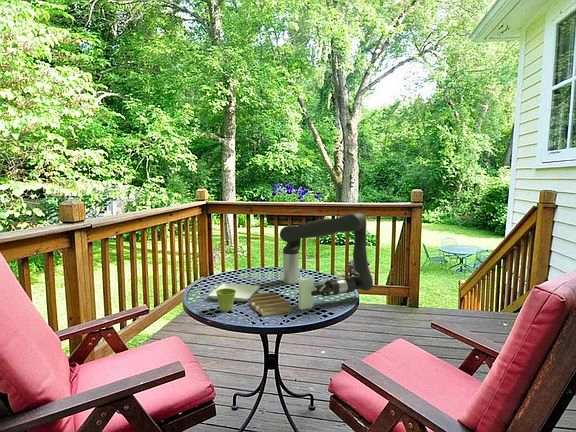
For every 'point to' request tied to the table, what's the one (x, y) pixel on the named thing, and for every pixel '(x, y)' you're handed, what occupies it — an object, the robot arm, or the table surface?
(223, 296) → the plant pot
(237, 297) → the salad plate
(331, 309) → the table surface
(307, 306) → the pale green block
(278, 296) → the drying rack
